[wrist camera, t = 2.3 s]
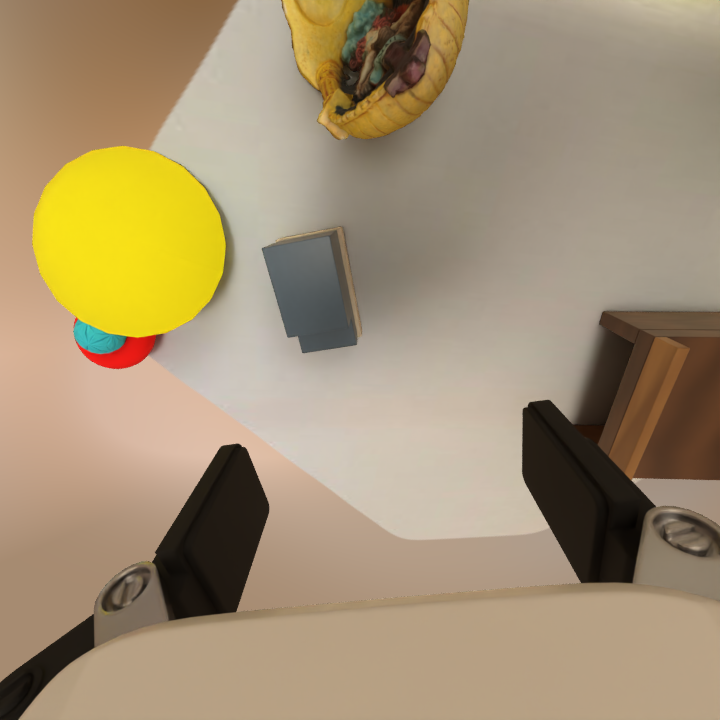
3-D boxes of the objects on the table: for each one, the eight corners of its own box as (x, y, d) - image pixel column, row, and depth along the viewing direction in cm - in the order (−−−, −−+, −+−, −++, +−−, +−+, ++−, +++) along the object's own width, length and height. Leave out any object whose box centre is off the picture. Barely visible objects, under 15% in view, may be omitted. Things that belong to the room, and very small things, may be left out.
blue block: (279, 238, 28) (256, 247, 22) (342, 226, 27) (333, 232, 22) (306, 339, 31) (292, 368, 26) (362, 330, 31) (359, 358, 25)
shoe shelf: (724, 311, 29) (842, 349, 21) (666, 436, 34) (744, 499, 27) (602, 311, 29) (678, 348, 22) (564, 434, 35) (614, 495, 27)
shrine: (454, 115, 24) (561, 3, 10) (354, 181, 26) (331, 162, 12) (375, -91, 20) (373, -740, 6) (263, 6, 22) (75, -316, 8)
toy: (25, 310, 30) (-174, 300, 18) (135, 139, 29) (1, 16, 18) (165, 399, 32) (64, 441, 20) (273, 239, 31) (234, 186, 19)
